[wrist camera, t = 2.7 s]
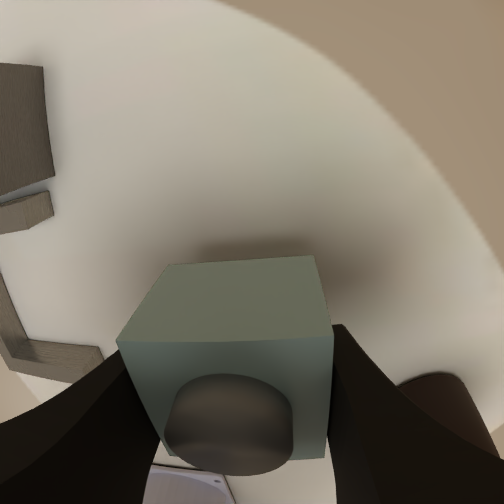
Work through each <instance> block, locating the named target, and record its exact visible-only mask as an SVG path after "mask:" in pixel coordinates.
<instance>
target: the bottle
mask: <svg viewBox="0 0 504 504" xmlns="http://www.w3.org/2000/svg"><path fill="white" fill-rule="evenodd" d="M399 389H400V390H401V391H402V392H403V393H404V394H405V395H406V396H407V397H408V398H409V399H411V400H412V401H413V402H414V403H415V404H416V405H417V406H419V407H420V408H421V409H422V410H424V411H425V412H426V413H427V414H428V415H430V416H431V417H432V418H434V419H435V420H436V421H438V422H439V423H440V424H442V425H443V426H445V427H446V428H448V429H449V430H451V431H452V432H454V433H456V434H457V435H459V436H460V437H462V438H464V439H465V440H467V441H468V442H470V443H472V444H473V445H475V446H477V447H479V448H481V449H483V450H485V451H487V452H489V453H491V454H493V455H495V456H497V457H499V458H500V456H499V454H498V451H497V449H496V447H495V445H494V443H493V440H492V438H491V436H490V434H489V432H488V430H487V428H486V426H485V424H484V421H483V419H482V417H481V415H480V413H479V411H478V409H477V407H476V406H475V404H474V402H473V400H472V398H471V396H470V394H469V392H468V390H467V388H466V387H465V385H464V383H463V382H462V381H460V380H459V379H457V378H456V377H454V376H451V375H444V374H439V375H432V376H426V377H422V378H419V379H417V380H414V381H411V382H408V383H407V384H405V385H403V386H401V387H400V388H399Z"/></svg>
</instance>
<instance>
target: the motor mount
mask: <svg viewBox="0 0 504 504" xmlns="http://www.w3.org/2000/svg"><path fill="white" fill-rule="evenodd" d="M53 176H55V174H54V168H53V162H52V156H51V150H50V143H49V136H48V128H47V120H46V110H45V99H44V85H43V67H41V66H32V65H22V64H10V63H0V196H1V195H4V194H6V193H9V192H11V191H14V190H17V189H19V188H22V187H25V186H27V185H30V184H33V183H35V182H38V181H41V180H44V179H47V178H50V177H53ZM52 216H54V213H53V209H52V205H51V200H50V196H49V191H45V192H41V193H37V194H34V195H30V196H26V197H22V198H19V199H15V200H12V201H8V202H5V203H2V204H0V234H5V233H11V232H16V231H21V230H27V229H29V228H31V227H33V226H35V225H37V224H39V223H40V222H42V221H44V220H46V219H48V218H50V217H52ZM0 354H1V356H2V357H3V359H4V361H5V363H6V364H7V366H8V368H9V370H12V371H16V372H20V373H24V374H28V375H33V376H37V377H41V378H46V379H51V380H56V381H61V382H66V383H72V384H74V383H75V382H77V381H78V380H79V379H81V378H82V377H84V376H85V375H86V374H88V373H89V372H90V371H92V370H93V369H94V368H96V367H97V366H98V365H99V364H101V363H102V362H103V361H104V359H103V357H102V355H101V353H100V350H99V348H98V347H92V346H80V345H70V344H60V343H51V342H43V341H35V340H28V338H27V336H26V334H25V332H24V330H23V328H22V325H21V323H20V321H19V319H18V317H17V314H16V312H15V310H14V307H13V305H12V302H11V300H10V297H9V295H8V292H7V290H6V287H5V285H4V282H3V279H2V276H1V274H0Z"/></svg>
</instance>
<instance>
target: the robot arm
mask: <svg viewBox="0 0 504 504" xmlns="http://www.w3.org/2000/svg"><path fill="white" fill-rule="evenodd" d="M332 329H333V333H334V348H333V366H332V382H331V395H330V407H329V418H328V429H327V438H328V443H329V448H330V453H331V458H332V464H333V469H334V475H335V483H336V497H337V504H504V460H503V459H501V458H499V457H497V456H495V455H493V454H491V453H489V452H487V451H485V450H483V449H481V448H479V447H477V446H475V445H473V444H472V443H470V442H468V441H467V440H465V439H464V438H462V437H460V436H459V435H457V434H456V433H454V432H452V431H451V430H449V429H448V428H446V427H445V426H443V425H442V424H440V423H439V422H438V421H436V420H435V419H434V418H432V417H431V416H430V415H428V414H427V413H426V412H425V411H424V410H422V409H421V408H420V407H419V406H417V405H416V404H415V403H414V402H413V401H412V400H411V399H409V398H408V397H407V396H406V395H405V394H404V393H403V392H402V391H401V390H400V389H399V388H398V387H397V386H396V385H395V384H394V383H393V382H392V381H391V380H390V379H389V378H388V377H387V376H386V375H385V374H384V373H383V372H382V371H381V370H380V369H379V368H378V366H377V365H376V364H375V363H374V362H373V361H372V360H371V359H370V358H369V356H368V355H367V354H366V353H365V352H364V350H363V349H362V348H361V347H360V346H359V344H358V343H357V342H356V341H355V339H354V338H353V337H352V335H351V334H350V333H349V331H348V330H347V329H346V327H345V326H344V325H342V324H337V325H332ZM160 440H161V439H160V437H159V435H158V433H157V431H156V430H155V428H154V426H153V424H152V422H151V420H150V418H149V416H148V414H147V412H146V410H145V407H144V405H143V403H142V401H141V399H140V397H139V395H138V393H137V390H136V388H135V386H134V384H133V381H132V379H131V377H130V375H129V372H128V370H127V368H126V365H125V363H124V360H123V358H122V356H121V353H120V351H119V349H118V350H117V351H116V352H115V353H113V354H112V355H111V356H110V357H108V358H107V359H106V360H105V361H103V362H102V363H101V364H99V365H98V366H97V367H96V368H94V369H93V370H92V371H90V372H89V373H88V374H86V375H85V376H84V377H82V378H81V379H79V380H78V381H77V382H75V383H74V384H72V385H71V386H70V387H68V388H67V389H65V390H64V391H62V392H61V393H59V394H58V395H56V396H54V397H53V398H51V399H49V400H48V401H46V402H44V403H43V404H41V405H39V406H37V407H35V408H34V409H31V410H29V411H27V412H25V413H23V414H21V415H19V416H17V417H14V418H12V419H10V420H8V421H5V422H3V423H0V504H235V501H234V499H233V497H232V495H231V492H230V490H229V488H228V485H227V483H226V481H225V478H224V476H223V475H222V474H217V473H212V472H207V471H196V470H186V469H178V468H170V467H163V466H156V465H152V462H153V459H154V457H155V454H156V451H157V448H158V445H159V442H160Z"/></svg>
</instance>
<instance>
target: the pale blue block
mask: <svg viewBox="0 0 504 504" xmlns="http://www.w3.org/2000/svg"><path fill="white" fill-rule="evenodd" d="M116 343H117V345H118V348H119V351H120V353H121V356H122V358H123V360H124V363H125V365H126V368H127V370H128V372H129V375H130V377H131V379H132V381H133V384H134V386H135V388H136V390H137V393H138V395H139V397H140V399H141V401H142V403H143V405H144V407H145V410H146V412H147V414H148V416H149V418H150V420H151V422H152V424H153V426H154V428H155V430H156V431H157V433H158V435H159V437H160V439H161V441H162V443H163V445H164V446H165V448H166V450H167V452H168V454H169V455H170V456H177V457H179V458H181V459H182V460H184V461H185V462H187V463H189V464H191V465H193V466H195V467H197V468H200V469H202V470H205V471H209V472H212V473H217V474H222V475H230V476H251V475H258V474H263V473H266V472H270V471H272V470H275V469H277V468H279V467H280V466H282V465H283V464H285V463H286V462H287V461H288V460H302V459H315V458H324V456H325V447H326V438H327V429H328V418H329V407H330V395H331V382H332V366H333V348H334V333H333V329H332V325H331V321H330V317H329V313H328V309H327V305H326V301H325V297H324V293H323V289H322V285H321V281H320V277H319V274H318V270H317V266H316V263H315V259H314V255H305V256H291V257H277V258H263V259H249V260H234V261H220V262H205V263H190V264H175V265H168V266H167V267H166V269H165V270H164V272H163V273H162V274H161V276H160V277H159V279H158V280H157V281H156V283H155V284H154V285H153V287H152V288H151V290H150V291H149V292H148V294H147V295H146V297H145V298H144V300H143V301H142V302H141V304H140V305H139V307H138V308H137V310H136V311H135V312H134V314H133V315H132V317H131V318H130V320H129V321H128V323H127V324H126V325H125V327H124V328H123V330H122V331H121V333H120V334H119V336H118V337H117V339H116Z"/></svg>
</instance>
